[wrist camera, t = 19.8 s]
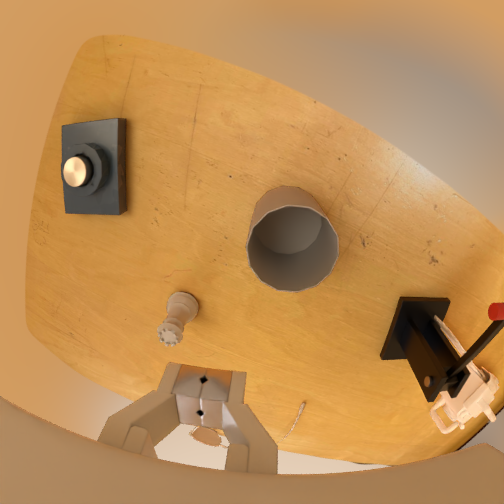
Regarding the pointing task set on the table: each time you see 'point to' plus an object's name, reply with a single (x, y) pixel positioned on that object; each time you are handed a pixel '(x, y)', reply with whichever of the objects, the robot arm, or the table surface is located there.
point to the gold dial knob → (78, 171)
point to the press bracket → (423, 344)
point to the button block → (97, 166)
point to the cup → (291, 241)
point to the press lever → (476, 345)
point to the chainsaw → (466, 393)
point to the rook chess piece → (177, 317)
